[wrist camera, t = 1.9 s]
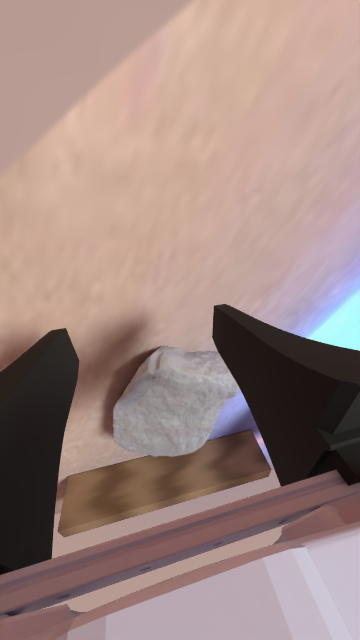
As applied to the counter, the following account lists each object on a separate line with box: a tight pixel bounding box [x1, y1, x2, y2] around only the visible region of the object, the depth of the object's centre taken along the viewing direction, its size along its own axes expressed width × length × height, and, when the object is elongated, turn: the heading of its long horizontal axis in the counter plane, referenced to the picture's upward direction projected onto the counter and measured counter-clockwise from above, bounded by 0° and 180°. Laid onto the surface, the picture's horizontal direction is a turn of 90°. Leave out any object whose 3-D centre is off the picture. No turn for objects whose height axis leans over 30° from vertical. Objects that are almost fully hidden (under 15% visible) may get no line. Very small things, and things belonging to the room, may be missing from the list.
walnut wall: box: [58, 430, 271, 537], centre depth 26 cm, size 24×2×5 cm, turn 93°
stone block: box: [113, 346, 239, 457], centre depth 21 cm, size 12×5×10 cm
